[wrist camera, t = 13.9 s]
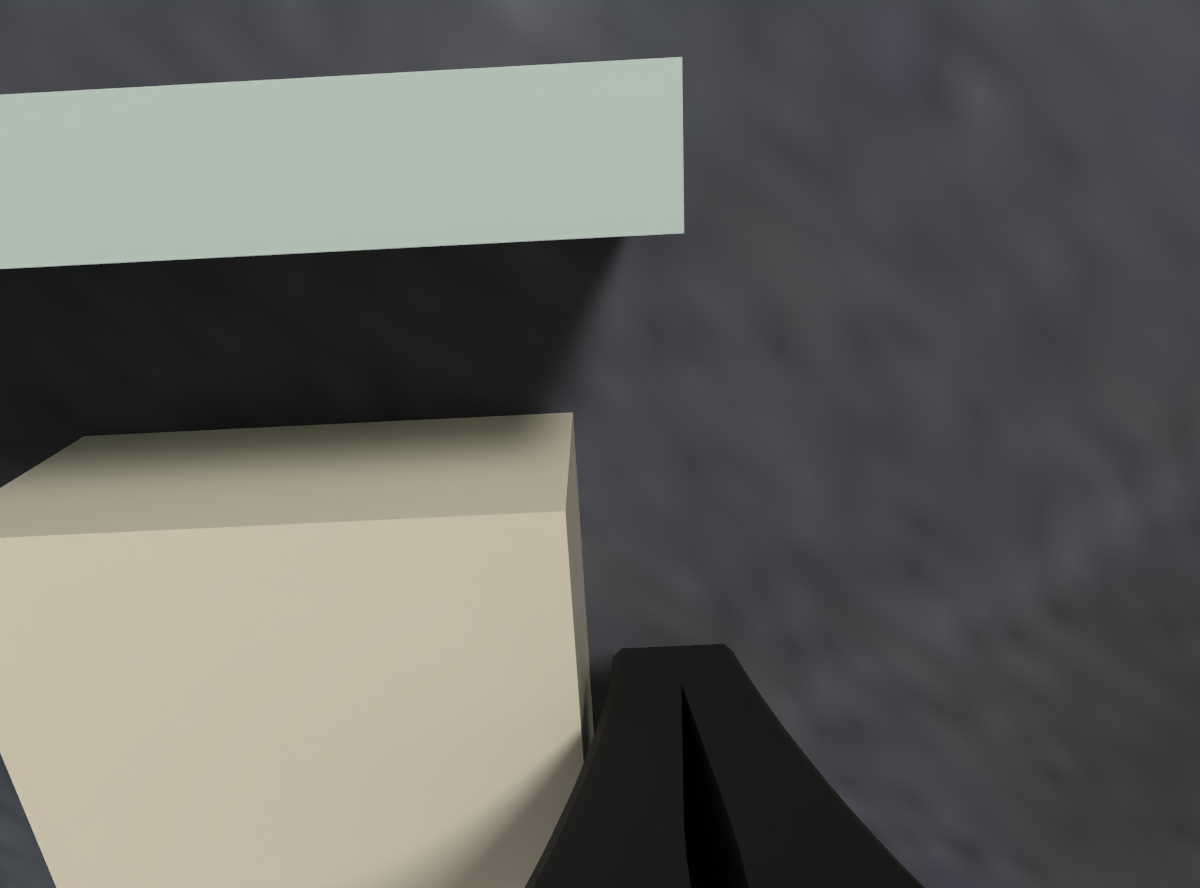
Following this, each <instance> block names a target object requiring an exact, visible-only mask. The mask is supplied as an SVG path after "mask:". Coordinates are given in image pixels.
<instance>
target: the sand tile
mask: <svg viewBox="0 0 1200 888" xmlns="http://www.w3.org/2000/svg"><path fill="white" fill-rule="evenodd" d="M593 737H594V729H593V714H592V699H591V684H590V668H589V653H588V638H587V622H586V607H585V592H584V577H583V561H582V546H581V531H580V515H579V500H578V485H577V470H576V454H575V439H574V424H573V413H552V414H532V415H511V416H490V417H470V418H449V419H428V420H408V421H387V422H366V423H345V424H325V425H304V426H283V427H263V428H242V429H221V430H201V431H180V432H159V433H139V434H118V435H97V436H84V437H82V438H81V439H79V440H77V441H76V442H74V443H72V444H71V445H69V446H68V447H66V448H64V449H63V450H61V451H59V452H58V453H56V454H55V455H53V456H51V457H50V458H48V459H46V460H45V461H43V462H42V463H40V464H38V465H37V466H35V467H33V468H32V469H30V470H29V471H27V472H25V473H24V474H22V475H20V476H19V477H17V478H16V479H14V480H12V481H11V482H9V483H7V484H6V485H4V486H3V487H1V488H0V753H1V756H2V758H3V760H4V763H5V765H6V768H7V770H8V772H9V775H10V777H11V780H12V782H13V784H14V787H15V789H16V792H17V794H18V796H19V799H20V801H21V804H22V806H23V808H24V811H25V813H26V816H27V818H28V820H29V823H30V825H31V828H32V830H33V832H34V835H35V837H36V840H37V842H38V844H39V847H40V849H41V852H42V854H43V856H44V859H45V861H46V864H47V866H48V869H49V871H50V873H51V876H52V878H53V881H54V883H55V885H56V888H525V886H526V884H527V882H528V880H529V878H530V877H531V875H532V873H533V871H534V869H535V867H536V865H537V863H538V861H539V859H540V858H541V856H542V854H543V852H544V850H545V848H546V846H547V844H548V842H549V839H550V837H551V835H552V833H553V831H554V829H555V827H556V824H557V822H558V820H559V818H560V816H561V814H562V812H563V809H564V807H565V805H566V803H567V801H568V799H569V797H570V794H571V792H572V790H573V788H574V786H575V783H576V781H577V778H578V776H579V774H580V771H581V768H582V766H583V763H584V760H585V758H586V755H587V753H588V750H589V747H590V745H591V742H592V739H593Z"/></svg>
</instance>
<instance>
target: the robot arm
mask: <svg viewBox="0 0 1200 888" xmlns="http://www.w3.org/2000/svg"><path fill="white" fill-rule="evenodd" d="M525 888H924V887H923V886H922V885H921V884H920V883H919V882H918V881H917V880H916V879H915V878H914V877H913V876H912V875H911V874H910V873H909V872H908V871H907V870H906V869H905V868H904V866H903V865H902V864H901V863H900V862H899V861H898V860H897V859H896V858H895V857H894V856H893V855H892V854H891V853H890V852H889V851H888V850H887V849H886V848H885V847H884V846H883V844H882V843H881V842H880V841H879V840H878V839H877V838H876V837H875V836H874V835H873V834H872V832H871V831H870V830H869V829H868V828H867V827H866V826H865V825H864V824H863V822H862V821H861V820H860V819H859V818H858V817H857V816H856V815H855V814H854V812H853V811H852V810H851V809H850V808H849V807H848V806H847V805H846V804H845V802H844V801H843V800H842V799H841V798H840V797H839V795H838V794H837V793H836V792H835V791H834V789H833V788H832V787H831V786H830V785H829V784H828V782H827V781H826V780H825V779H824V778H823V776H822V775H821V774H820V773H819V771H818V770H817V769H816V768H815V766H814V765H813V764H812V763H811V761H810V760H809V759H808V758H807V756H806V755H805V754H804V753H803V751H802V750H801V749H800V748H799V746H798V745H797V744H796V743H795V741H794V740H793V739H792V737H791V736H790V735H789V734H788V732H787V731H786V730H785V728H784V727H783V726H782V724H781V723H780V722H779V720H778V719H777V717H776V716H775V715H774V713H773V712H772V710H771V709H770V708H769V706H768V705H767V703H766V702H765V701H764V699H763V698H762V696H761V695H760V693H759V692H758V690H757V689H756V688H755V686H754V685H753V683H752V682H751V680H750V679H749V677H748V675H747V674H746V672H745V671H744V669H743V668H742V666H741V664H740V663H739V661H738V659H737V658H736V656H735V654H734V652H733V651H732V650H730V649H729V648H728V647H727V646H726V645H725V644H714V645H692V646H670V647H648V648H626V649H621V650H620V651H619V652H618V653H617V654H616V655H615V656H614V657H613V664H612V673H611V678H610V683H609V688H608V692H607V696H606V700H605V703H604V706H603V710H602V713H601V716H600V719H599V722H598V726H597V729H596V731H595V734H594V737H593V739H592V742H591V745H590V747H589V750H588V753H587V755H586V758H585V760H584V763H583V766H582V768H581V771H580V774H579V776H578V778H577V781H576V783H575V786H574V788H573V790H572V792H571V794H570V797H569V799H568V801H567V803H566V805H565V807H564V809H563V812H562V814H561V816H560V818H559V820H558V822H557V824H556V827H555V829H554V831H553V833H552V835H551V837H550V839H549V842H548V844H547V846H546V848H545V850H544V852H543V854H542V856H541V858H540V859H539V861H538V863H537V865H536V867H535V869H534V871H533V873H532V875H531V877H530V878H529V880H528V882H527V884H526V886H525Z"/></svg>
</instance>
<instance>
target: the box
mask: <svg viewBox="0 0 1200 888" xmlns="http://www.w3.org/2000/svg"><path fill="white" fill-rule="evenodd" d="M677 233H684V182H683V92H682V57H673V58H655V59H636V60H618V61H600V62H582V63H564V64H546V65H528V66H510V67H492V68H474V69H456V70H438V71H420V72H402V73H384V74H366V75H348V76H330V77H312V78H294V79H276V80H257V81H239V82H221V83H203V84H185V85H167V86H149V87H131V88H113V89H95V90H77V91H59V92H41V93H23V94H5V95H0V269H11V268H30V267H49V266H68V265H87V264H106V263H126V262H145V261H164V260H183V259H202V258H221V257H240V256H259V255H278V254H297V253H316V252H335V251H354V250H373V249H392V248H411V247H430V246H449V245H468V244H487V243H506V242H525V241H544V240H563V239H582V238H601V237H620V236H639V235H658V234H677Z"/></svg>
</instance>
